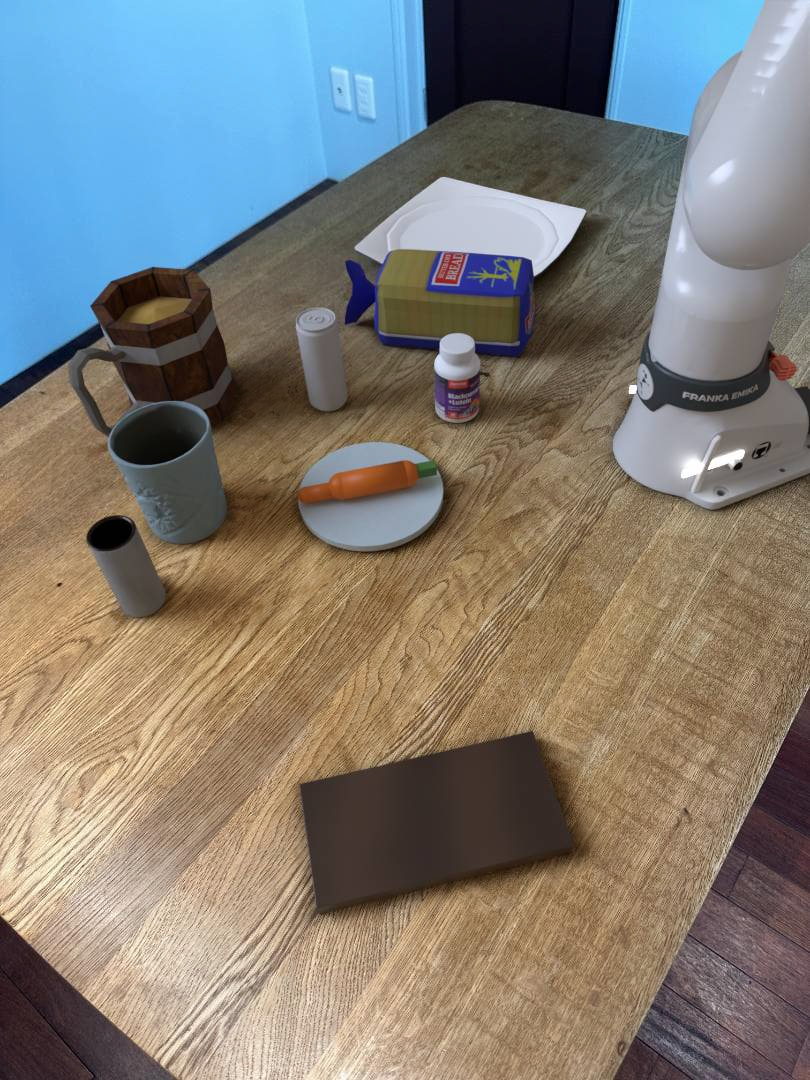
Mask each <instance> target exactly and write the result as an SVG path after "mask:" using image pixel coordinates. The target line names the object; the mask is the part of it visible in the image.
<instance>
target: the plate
mask: <svg viewBox="0 0 810 1080" xmlns="http://www.w3.org/2000/svg"><path fill="white" fill-rule="evenodd" d="M586 215H587V210H586V208H585V209H584V208H580V207H575V206H570V205H568V204H567V205H566V204H561V203H558V202H552V201H548V200H543V199H538V198H535V197H530V196H527V195H522V194H518V193H514V192H509V191H505V190H501V189H496V188H492V187H487V186H484V185H480V184H475V183H472V182H467V181H464V180H463V181H462V180H459V179H455V178H451V177H448V176H447V177H446V176H441V177H438V179H436V180H435V181H434V182H432V183H431V184H429V185H428V186H427V187H425V188H424V189H423V190H422V191H420V192H419V193H417V194H416V195H415V196H413V197H412V198H411V199H409V200H408V201H407V202H406V203H405V204H403V205H402V206H400V207H399V208H398V209H397V210H396V211H394V212H393V213H392V214H390V215H389V216H388V217H387V218H386V219H384V220H383V221H382V222H381V223H380V224H378V225H377V226H376V227H375V228H374V229H372V231H371V232H370V233H368V234H367V235H366V236H365V237H363V239H362V240H361V241H359V242H358V243H357V244H356V245H355V246H354V248H353V249H354V253H356V254H358V255H360V256H361V257H364V258H366V259H368V260H370V261H372V262H374V263H376V264H378V265H380V266H382V264H383V262H384V260H385V258H386V256H387V254H388V253H389V252H390V251H392V250H397V249H411V250H429V251H448V252H465V253H478V254H491V255H505V256H517V257H524V258H527V259H530V260H532V266H533V273H534V279H536V278H537V277H539V276H541V275H542V274H544V272H545V271H547V269H549V268H550V267H551V265H553V264H554V263H555V262H556V261H557V260H558V259H559V258H560V257H561V256H562V254H563V253H564V252H565V251H566V249H567V248H568V247H569V246H570V244H571V243H572V242H573V240H574V237H576V234H577V232H578V231H579V229H580V226H581V225H582V223H583V221H584V219H585V217H586Z"/></svg>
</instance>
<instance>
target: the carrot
mask: <svg viewBox="0 0 810 1080" xmlns="http://www.w3.org/2000/svg"><path fill="white" fill-rule="evenodd" d="M437 470H438V466H437V464H436V462H435V459H434V460H430V461H427V462H422V463H417V464H414V463H413V462H411V461H407V460H403V461H397V462H392V463H387V464H382V465H376V466H371V467H366V468H361V469H356V470H350V471H345V472H340V473H336V474H335V475H333V476H332V477H331V478H330V480H329V482H328V483H323V484H318V485H312V486H307V487H303V488H301V489H300V490H299V489H298V491H297V495H296V496H297V500H298V499H299V501H300V502H302V503H304V504H308V503H313V502H318V501H323V500H328V499H333V498H335V499H338V500H347V499H352V498H357V497H363V496H368V495H373V494H378V493H383V492H388V491H393V490H399V489H404V488H409V487H411V486H413V485H414V484H415V483H416V482H417V480H418V479H419V478H424V477H430V476H435V475H437Z"/></svg>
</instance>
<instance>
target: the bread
mask: <svg viewBox="0 0 810 1080" xmlns="http://www.w3.org/2000/svg"><path fill="white" fill-rule="evenodd" d="M344 264H345V268H346V269H345V270H346V272H347V274H348V277H349V279H350V281H351V285H352V288H351V289H352V290H351V292H352V293H351V296H350V297H349V300H348V302H347V305H346V310H345V315H344V326H347V325H350V324H356V323H357V322H358V321H359V320H360V319H361V317H362V316H363V315H364V314H365V312H366V311H367V310H369V308H370V307H371V306H372V305H374V315H373V316H374V317H373V325H374V329H375V332H376V334H377V337H378V340H379V342H380V343H381V344H382V345H383V346H390V347H398V348H399V347H401V348H411V349H413V348H414V349H424V350H432V351H433V350H434V351H440V341H441V339H442V338H443V337H445V336H447V335H449V334H453V333H462V334H466V335H468V336H470V337H472V338H473V340H474V342H475V354H481V355H491V356H502V357H503V356H504V357H514V358H519V357H520V356H521V355H522V353H523V352H524V350H525V349H526V347H527V345H528V343H529V341H530V339H531V337H532V332H533V328H534V323H535V319H536V314H537V310H536V300H535V290H534V284H535V282H534V281H535V278H534V273H533V266H532V260H530V259H527V258H524V257H517V256H505V255H491V254H478V253H465V252H448V251H429V250H411V249H397V250H392V251H390V252H389V253H388V254H387V256H386V258H385V260H384V262H383V264H382V265H380V268H379V271H378V273H377V275H376V279H375V284H374V283H373V282H372V281H370V280H369V279H368V278H367V275H366V273H365V271H364V269H363V267H362V265H361V263H360V262H359V261H357V262H355V261H354V260H352V259H348V260H347V259H346V260H344Z"/></svg>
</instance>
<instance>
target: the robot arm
mask: <svg viewBox="0 0 810 1080" xmlns="http://www.w3.org/2000/svg"><path fill="white" fill-rule="evenodd" d="M692 113H693V114H692V117H691V122H690V126H689V127H690V128H689V133H688V137H687V143H686V147H685V152H684V158H683V163H682V169H681V173H680V179H679V184H678V189H677V195H676V200H675V206H674V210H673V216H672V221H671V225H670V230H669V237H668V242H667V245H666V246H667V247H666V251H665V257H664V263H663V268H662V273H661V278H660V282H659V287H658V292H657V297H656V303H655V307H654V312H653V317H652V322H651V327H650V330H649V331H648V332H647V334H646V336H645V338H644V340H643V345H642V349H641V353H640V357H639V363H638V367H637V368H638V369H637V374H636V383H635V385H629V390H628V393H629V394H634V395H633V397H632V400H631V402H630V405H629V407H628V409H627V412H626V414H625V416H624V418H623V420H622V422H621V423H620V426H619V427H618V428H617V430H616V431H615V433H614V435H613V439H612V451H613V455H614V458H615V460H616V462H617V464H618V465H619V467H620V468H621V469H622V470H623V472H625V474H627V475H628V476H629V477H630V478H632V479H633V480H635V481H636V482H637V483H639V484H641V485H643V486H645V487H647V488H648V489H651V490H654V491H657V492H660V493H664V494H668V495H673V496H676V497H681V498H684V499H686V500H688V501H689V502H691V503H693V504H695V505H697V506H698V507H700V508H703V509H706V510H709V511H710V510H712V511H714V510H719V509H721V508H724V507H726V506H729V505H731V504H734V503H737V502H740V501H742V500H745V499H747V498H749V497H752V496H755V495H758V494H761V493H762V492H765V491H767V490H770V489H773V488H776V487H778V486H780V485H783V484H786V483H788V482H791V481H793V480H796V479H799V478H801V477H804V476H806V475H809V474H810V388H809V387H808V386H807V385H806V386H799V387H793V386H792V384H791V383H790V382H789V381H788V380H790V379H792V377H794V376H795V375H796V373H797V371H798V370H797V369H798V366H797V364H795V363H794V362H793V361H792V360H790V358H789V356H788V355H786V354H778V353H776V351H775V349H776V348H775V346H774V345H773V343H772V342H771V341H770V336H771V334H772V331H773V328H774V325H775V322H776V318H777V316H778V313H779V310H780V307H781V304H782V300H783V297H784V294H785V292H786V289H787V285H788V280H789V276H790V275H789V274H790V270H791V269H790V268H791V264H792V259H793V257H795V256H796V255H797V254H799V253H800V252H801V251H803V250H804V249H805V248H806V247H807V246H808V245H809V244H810V0H764V2H763V4H762V7H761V9H760V11H759V13H758V16H757V18H756V20H755V22H754V24H753V27H752V29H751V32H750V34H749V36H748V38H747V40H746V43H745V45H744V47H743V49H742V50H740V51H738V52H736V53H735V54H733V55H732V56H731V57H729V58H728V59H727V60H726V61H725V62H724V63H722V65H721V66H719V68H718V69H717V70H716V72H715V73H714V74H713V75H712V77H711V78H710V79H709V81H708V82H707V84H706V85H705V87H704V88H703V90H702V92H701V93H700V95H699V97H698V99H697V102H696V103H695V106H694V109H693V112H692Z"/></svg>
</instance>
